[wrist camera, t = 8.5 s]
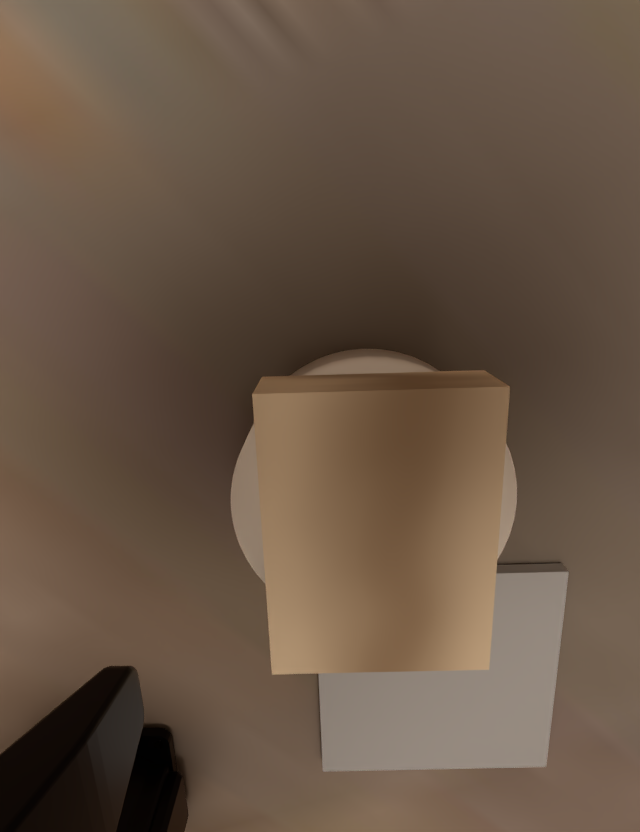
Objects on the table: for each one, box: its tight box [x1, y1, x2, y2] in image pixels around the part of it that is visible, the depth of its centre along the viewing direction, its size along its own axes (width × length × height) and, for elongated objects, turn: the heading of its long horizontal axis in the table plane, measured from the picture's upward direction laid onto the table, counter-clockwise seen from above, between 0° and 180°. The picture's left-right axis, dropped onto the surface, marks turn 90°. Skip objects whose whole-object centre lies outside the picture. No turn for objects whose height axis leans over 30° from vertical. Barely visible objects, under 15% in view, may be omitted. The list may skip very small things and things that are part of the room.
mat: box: [318, 563, 569, 771], centre depth 22 cm, size 10×10×1 cm
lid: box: [252, 370, 510, 674], centre depth 14 cm, size 6×8×2 cm
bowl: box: [231, 349, 517, 584], centre depth 17 cm, size 8×8×5 cm
